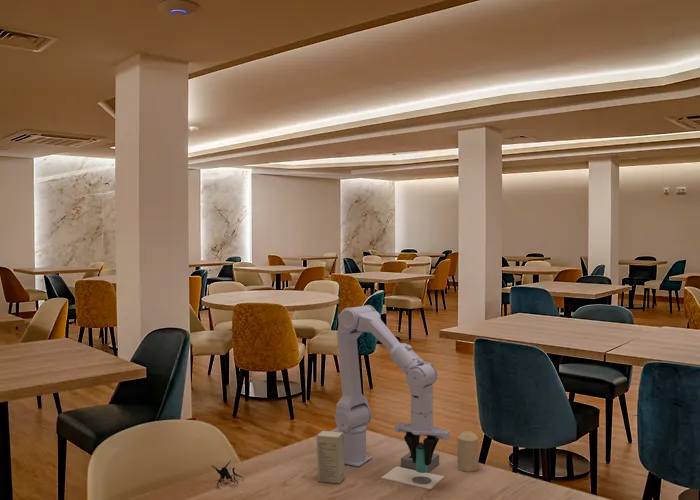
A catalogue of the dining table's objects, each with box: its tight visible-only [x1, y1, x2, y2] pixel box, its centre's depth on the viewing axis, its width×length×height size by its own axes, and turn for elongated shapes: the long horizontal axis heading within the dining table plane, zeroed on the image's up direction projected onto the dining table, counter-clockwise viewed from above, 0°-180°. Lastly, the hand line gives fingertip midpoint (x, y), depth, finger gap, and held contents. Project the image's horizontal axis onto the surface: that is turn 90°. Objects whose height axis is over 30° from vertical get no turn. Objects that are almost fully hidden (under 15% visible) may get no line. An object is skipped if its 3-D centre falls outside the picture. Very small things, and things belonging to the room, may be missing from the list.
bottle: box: [416, 441, 427, 473], centre depth 162 cm, size 3×3×7 cm
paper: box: [381, 466, 445, 490], centre depth 165 cm, size 14×9×1 cm, turn 59°
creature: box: [211, 459, 245, 489], centre depth 162 cm, size 8×5×8 cm
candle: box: [457, 430, 479, 473], centre depth 172 cm, size 6×6×10 cm
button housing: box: [400, 451, 440, 473], centre depth 174 cm, size 8×8×3 cm
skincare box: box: [316, 430, 346, 484], centre depth 164 cm, size 6×4×12 cm
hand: (421, 462), depth 163 cm, fingers closed on bottle, 3 cm apart
